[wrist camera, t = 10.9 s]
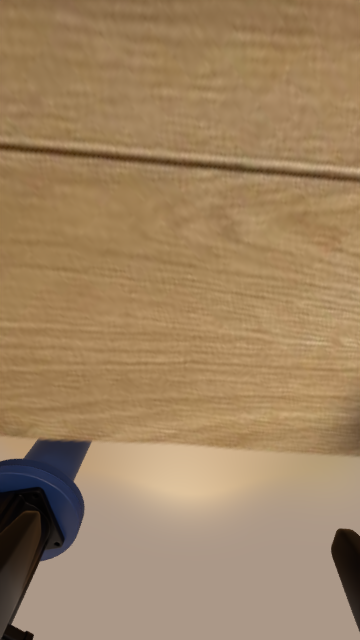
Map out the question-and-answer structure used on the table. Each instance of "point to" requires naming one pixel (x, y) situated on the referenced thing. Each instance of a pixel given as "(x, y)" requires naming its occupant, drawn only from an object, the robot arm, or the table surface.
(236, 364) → the table surface
